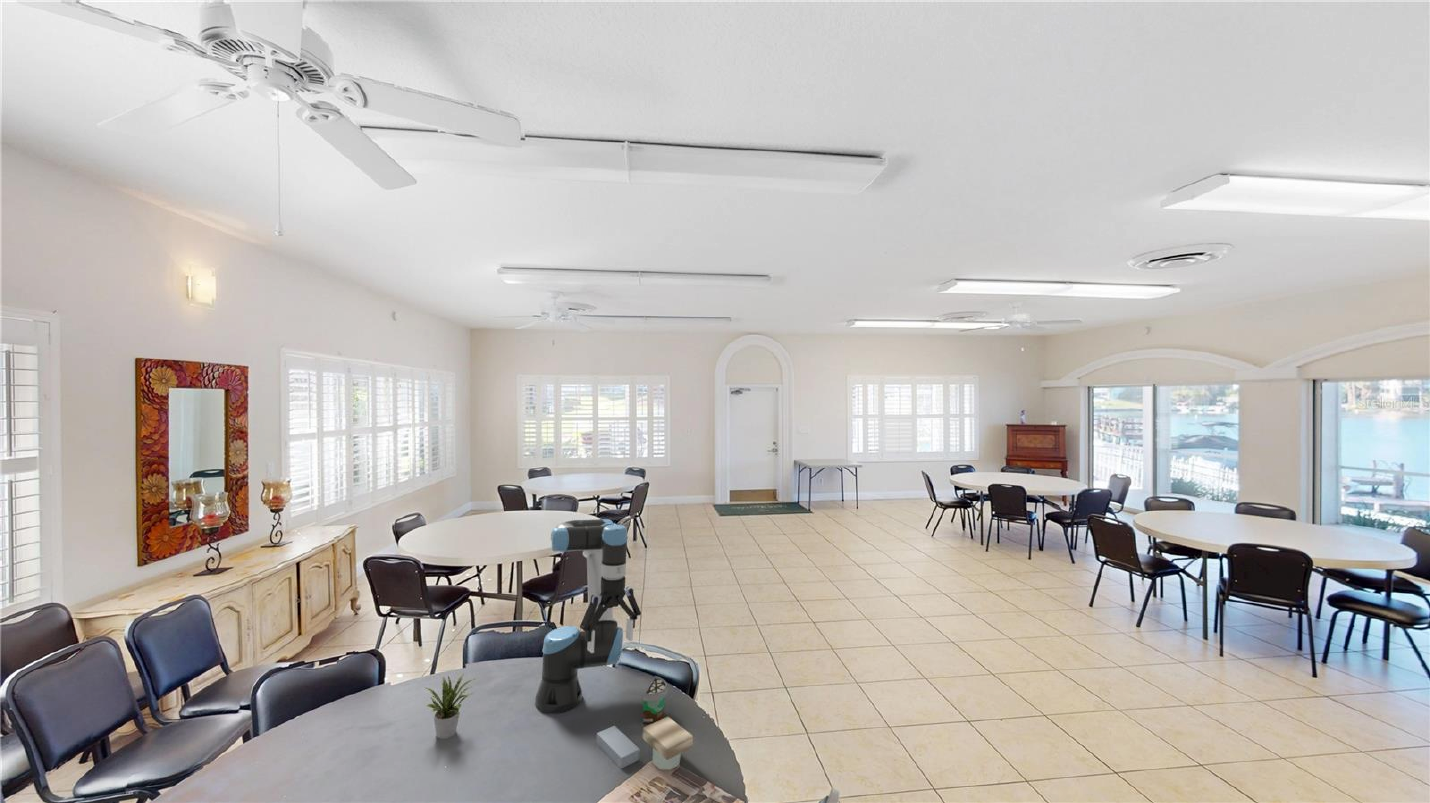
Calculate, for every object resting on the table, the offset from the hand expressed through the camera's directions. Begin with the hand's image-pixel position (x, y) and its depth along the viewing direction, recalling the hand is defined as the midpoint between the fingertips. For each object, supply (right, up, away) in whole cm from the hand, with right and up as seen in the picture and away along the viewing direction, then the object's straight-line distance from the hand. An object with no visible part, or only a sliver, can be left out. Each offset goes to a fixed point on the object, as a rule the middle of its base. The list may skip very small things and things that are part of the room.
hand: (610, 645), depth 160 cm
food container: (+14, -28, +8) cm, 32 cm away
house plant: (-47, -25, -4) cm, 54 cm away
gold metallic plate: (+19, -22, -12) cm, 32 cm away
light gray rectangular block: (+4, -27, -10) cm, 28 cm away
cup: (+19, -27, -13) cm, 35 cm away
